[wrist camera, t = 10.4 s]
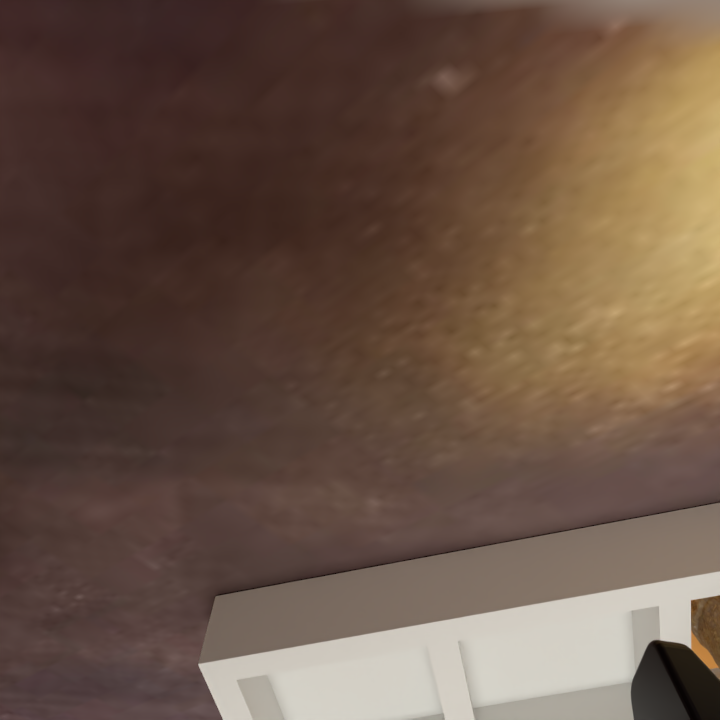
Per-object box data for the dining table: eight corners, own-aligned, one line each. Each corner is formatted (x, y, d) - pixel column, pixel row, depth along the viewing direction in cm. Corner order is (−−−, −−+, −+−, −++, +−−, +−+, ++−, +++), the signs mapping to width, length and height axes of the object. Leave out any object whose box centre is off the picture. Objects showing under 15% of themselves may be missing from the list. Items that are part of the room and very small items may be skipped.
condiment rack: (276, 744, 27) (268, 819, 24) (215, 596, 24) (197, 664, 21) (855, 647, 25) (917, 716, 22) (879, 473, 22) (955, 529, 19)
